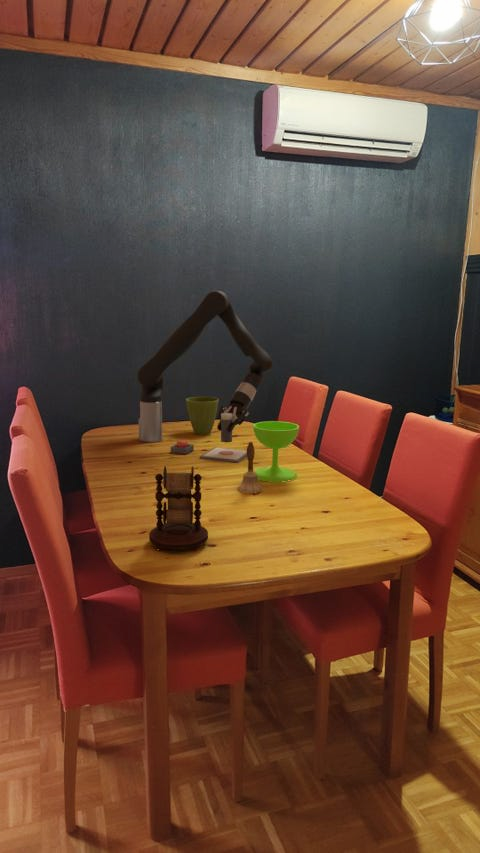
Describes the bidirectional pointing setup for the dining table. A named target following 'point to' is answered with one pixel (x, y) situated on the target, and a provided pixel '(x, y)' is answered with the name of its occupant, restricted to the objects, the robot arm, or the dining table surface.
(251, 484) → the hand bell
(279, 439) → the wineglass
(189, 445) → the button base
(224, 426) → the canister
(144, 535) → the dining table surface
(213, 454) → the board
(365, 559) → the dining table surface
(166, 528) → the scroll
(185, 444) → the button
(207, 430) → the flower pot
